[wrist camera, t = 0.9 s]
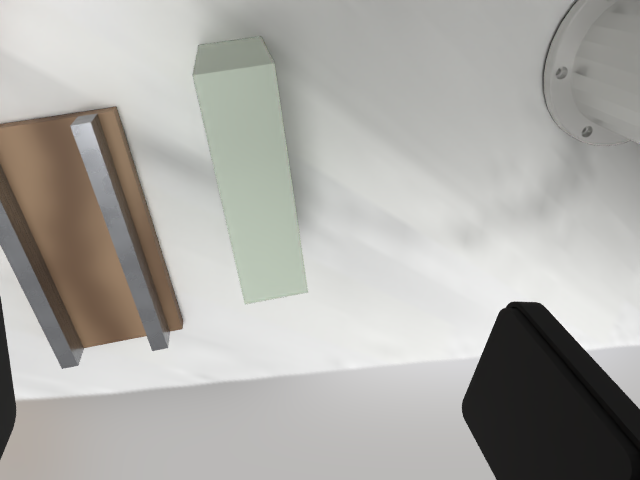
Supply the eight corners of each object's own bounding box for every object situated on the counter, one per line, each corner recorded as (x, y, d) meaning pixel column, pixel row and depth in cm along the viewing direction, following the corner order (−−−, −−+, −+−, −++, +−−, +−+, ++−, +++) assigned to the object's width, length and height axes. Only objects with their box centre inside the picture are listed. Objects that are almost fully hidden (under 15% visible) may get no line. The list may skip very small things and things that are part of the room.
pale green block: (260, 36, 33) (274, 63, 25) (290, 225, 40) (308, 292, 32) (198, 44, 32) (192, 75, 25) (239, 234, 40) (244, 304, 32)
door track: (116, 106, 33) (107, 120, 31) (183, 321, 42) (180, 345, 40) (-45, 131, 32) (-68, 146, 30) (58, 345, 42) (48, 371, 39)
